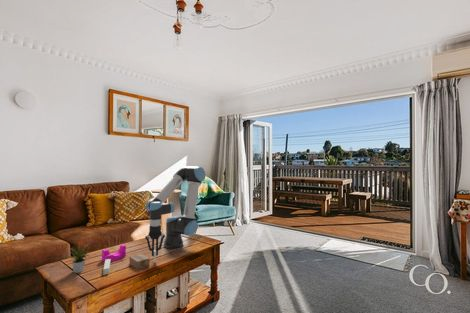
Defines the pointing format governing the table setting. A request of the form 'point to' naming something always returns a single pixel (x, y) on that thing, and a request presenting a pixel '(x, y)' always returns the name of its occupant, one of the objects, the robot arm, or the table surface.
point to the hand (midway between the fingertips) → (154, 260)
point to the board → (106, 266)
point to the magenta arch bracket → (114, 254)
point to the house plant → (78, 259)
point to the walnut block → (139, 261)
